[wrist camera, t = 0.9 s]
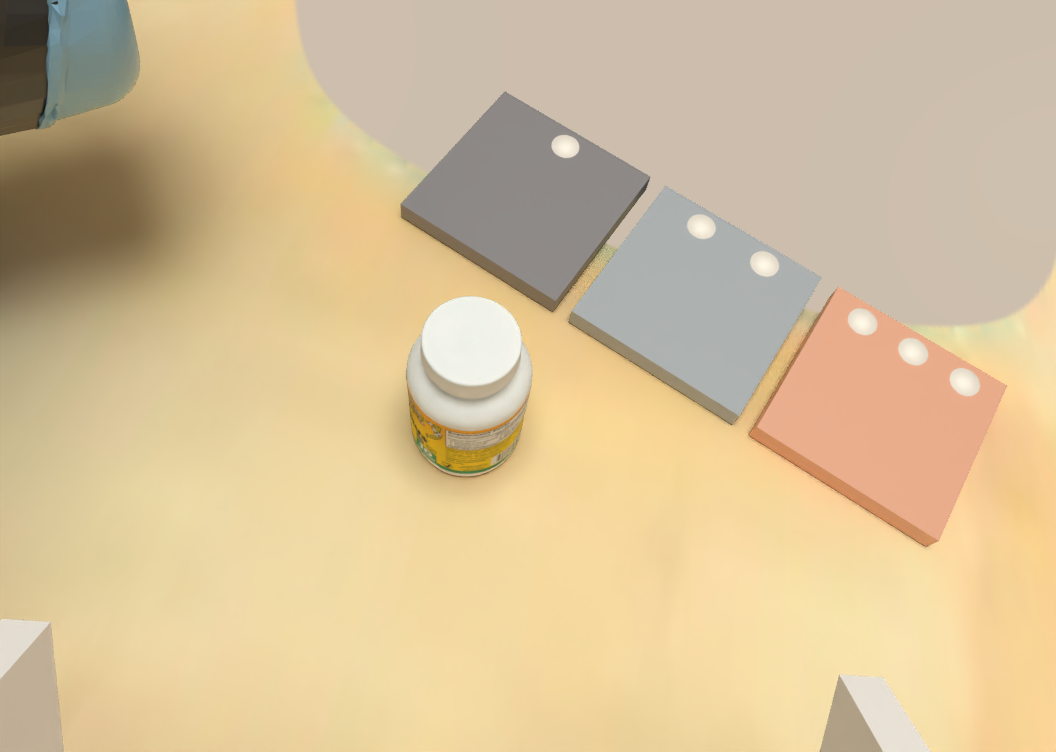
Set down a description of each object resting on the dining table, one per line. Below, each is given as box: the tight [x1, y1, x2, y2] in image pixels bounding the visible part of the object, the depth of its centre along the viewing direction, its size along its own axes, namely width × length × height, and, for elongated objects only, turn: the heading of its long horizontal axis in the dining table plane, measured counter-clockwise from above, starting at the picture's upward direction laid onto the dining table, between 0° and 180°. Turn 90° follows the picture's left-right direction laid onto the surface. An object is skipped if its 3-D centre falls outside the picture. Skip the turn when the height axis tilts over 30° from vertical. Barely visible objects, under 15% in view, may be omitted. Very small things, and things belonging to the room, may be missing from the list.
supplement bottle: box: [406, 296, 532, 476], centre depth 37 cm, size 5×5×10 cm
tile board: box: [401, 92, 1007, 546], centre depth 45 cm, size 32×10×1 cm, turn 56°
